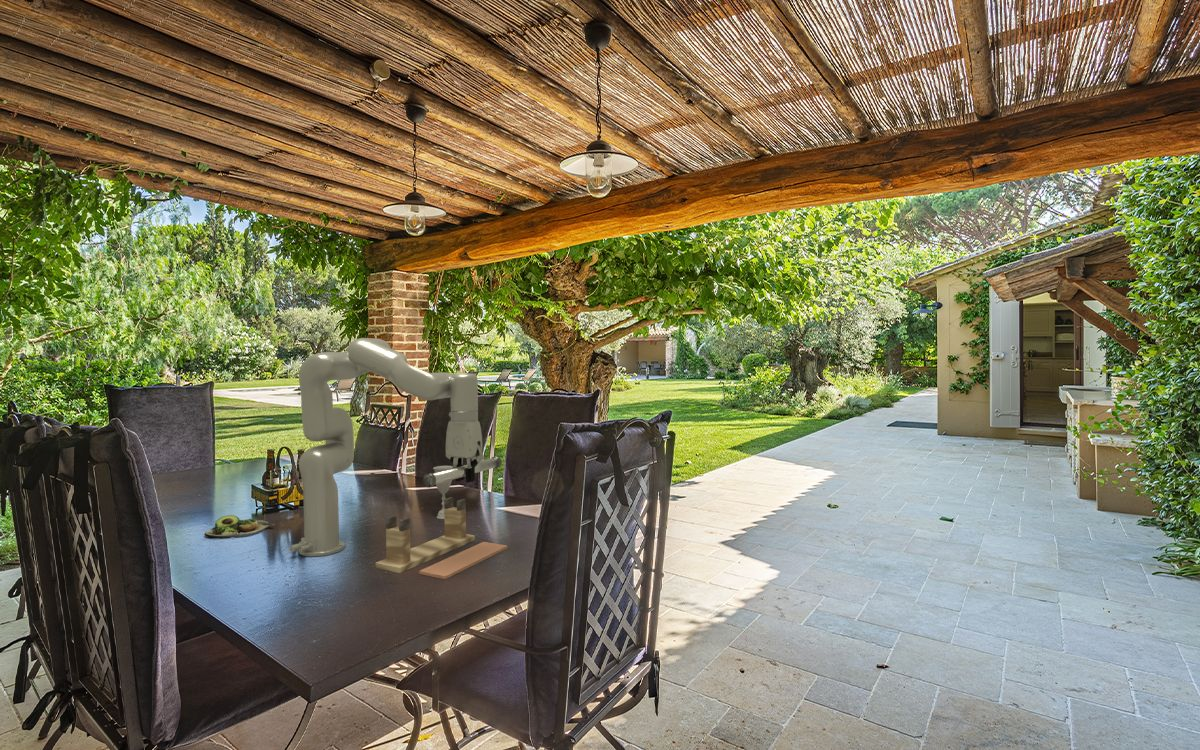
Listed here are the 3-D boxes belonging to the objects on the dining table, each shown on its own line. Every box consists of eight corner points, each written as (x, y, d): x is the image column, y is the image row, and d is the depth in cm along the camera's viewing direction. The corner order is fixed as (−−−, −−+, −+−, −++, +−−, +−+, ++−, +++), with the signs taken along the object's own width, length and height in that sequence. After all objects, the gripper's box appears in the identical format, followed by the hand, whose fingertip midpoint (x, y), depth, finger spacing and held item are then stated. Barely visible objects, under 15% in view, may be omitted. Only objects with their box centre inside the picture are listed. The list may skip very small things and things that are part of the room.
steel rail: (433, 488, 158) (433, 474, 158) (422, 486, 159) (422, 473, 159) (501, 468, 185) (501, 456, 184) (491, 467, 186) (491, 455, 186)
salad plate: (283, 523, 213) (283, 510, 213) (262, 538, 195) (262, 524, 195) (225, 525, 210) (224, 512, 210) (198, 541, 193) (197, 526, 193)
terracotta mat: (445, 579, 158) (445, 576, 158) (419, 573, 162) (419, 570, 162) (507, 548, 183) (507, 545, 183) (483, 544, 187) (483, 541, 187)
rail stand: (399, 573, 163) (399, 523, 162) (375, 568, 167) (374, 519, 166) (474, 540, 191) (474, 498, 191) (452, 536, 195) (452, 495, 195)
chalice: (446, 513, 224) (445, 465, 223) (457, 516, 219) (457, 467, 219) (429, 517, 218) (428, 467, 217) (441, 520, 214) (440, 470, 213)
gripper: (433, 416, 172) (433, 480, 172) (479, 419, 164) (479, 486, 165) (450, 414, 178) (451, 476, 179) (495, 416, 171) (496, 481, 172)
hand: (465, 480), depth 172 cm, fingers closed on steel rail, 3 cm apart
